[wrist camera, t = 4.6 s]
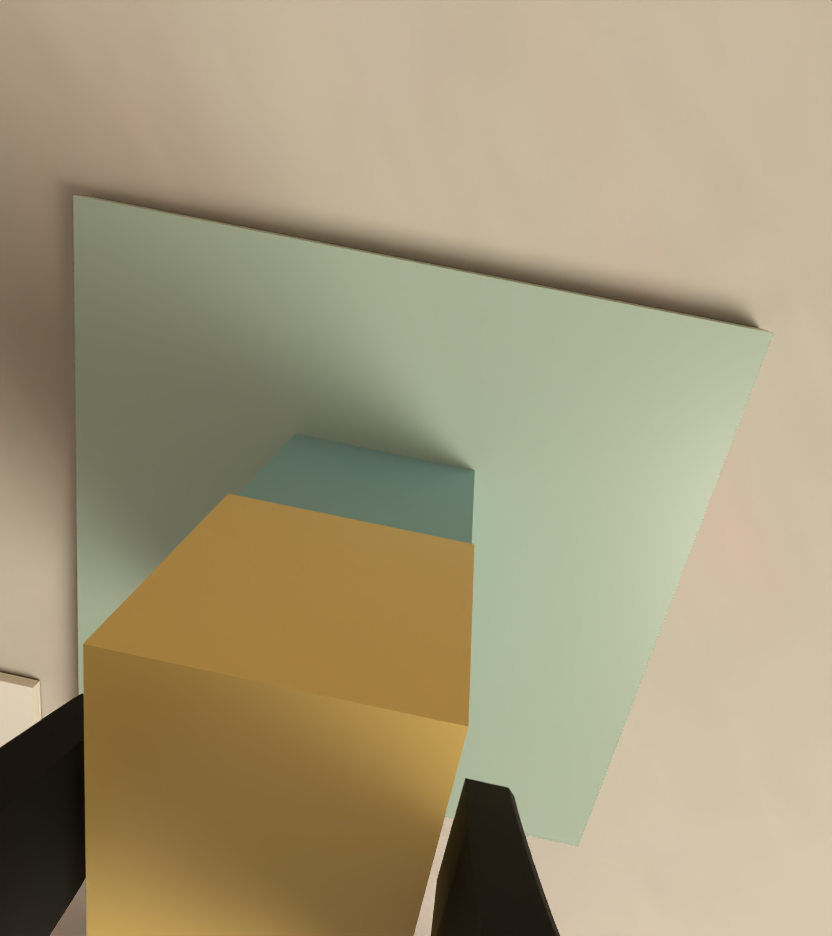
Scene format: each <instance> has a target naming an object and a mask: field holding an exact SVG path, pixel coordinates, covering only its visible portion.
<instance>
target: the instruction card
mask: <svg viewBox="0 0 832 936" xmlns="http://www.w3.org/2000/svg"><path fill="white" fill-rule="evenodd" d="M40 720H41V702H40V681H38V680H33V679H29V678H24V677H20V676H15V675H11V674H6V673H2V672H0V747H1V746H3V745H4V744H6V743H7V742H9V741H10V740H12V739H13V738H15V737H16V736H18V735H19V734H21V733H22V732H24V731H25V730H27V729H28V728H30V727H31V726H33V725H34V724H36V723H37V722H39V721H40Z"/></svg>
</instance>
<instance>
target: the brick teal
mask: <svg viewBox="0 0 832 936" xmlns="http://www.w3.org/2000/svg"><path fill="white" fill-rule="evenodd" d="M474 477H475V471H474V470H469V469H465V468H460V467H455V466H450V465H445V464H440V463H435V462H431V461H426V460H421V459H416V458H411V457H406V456H402V455H397V454H392V453H387V452H382V451H377V450H372V449H368V448H363V447H358V446H353V445H348V444H343V443H339V442H334V441H329V440H324V439H319V438H314V437H309V436H305V435H300V434H294V436H293V437H292V438H291V439H290V440H289V441H288V442H287V443H286V444H285V445H284V446H283V447H282V449H281V450H280V451H279V452H278V453H277V454H276V455H275V456H274V457H273V458H272V459H271V460H270V462H269V463H268V464H267V465H266V466H265V467H264V468H263V469H262V470H261V471H260V472H259V473H258V475H257V476H256V477H255V478H254V479H253V480H252V481H251V482H250V483H249V484H248V485H247V486H246V487H245V489H244V490H243V491H242V492H241V493H240V494H239V495H238V496H243V497H247V498H252V499H257V500H262V501H267V502H272V503H277V504H281V505H286V506H291V507H296V508H301V509H306V510H311V511H315V512H320V513H325V514H330V515H335V516H340V517H344V518H349V519H354V520H359V521H364V522H369V523H374V524H378V525H383V526H388V527H393V528H398V529H403V530H408V531H412V532H417V533H422V534H427V535H432V536H437V537H442V538H446V539H451V540H456V541H461V542H466V543H471V544H472V525H473V501H474Z"/></svg>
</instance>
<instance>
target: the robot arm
mask: <svg viewBox="0 0 832 936" xmlns="http://www.w3.org/2000/svg"><path fill="white" fill-rule="evenodd" d="M85 878H86V851H85V770H84V694H80V695H78V696H77V697H75V698H73V699H72V700H70V701H69V702H67V703H66V704H64V705H63V706H61V707H60V708H58V709H56V710H55V711H53V712H52V713H50V714H49V715H47V716H46V717H45V718H43V719H42V720H40V721H39V722H37V723H36V724H34V725H33V726H31V727H30V728H28V729H27V730H25V731H24V732H22V733H21V734H19V735H18V736H16V737H15V738H13V739H12V740H10V741H9V742H7V743H6V744H4V745H3V746H1V747H0V936H49V935H50V934H51V932H52V931H53V929H54V928H55V926H56V924H57V923H58V921H59V920H60V918H61V917H62V915H63V914H64V912H65V910H66V909H67V907H68V906H69V904H70V903H71V901H72V899H73V898H74V896H75V895H76V893H77V892H78V890H79V888H80V887H81V885H82V883H83V881H84V880H85ZM431 936H560V934H559V932H558V929H557V927H556V924H555V922H554V919H553V916H552V914H551V911H550V908H549V905H548V902H547V900H546V897H545V894H544V891H543V888H542V885H541V882H540V879H539V877H538V874H537V871H536V868H535V865H534V862H533V859H532V856H531V852H530V849H529V846H528V843H527V840H526V836H525V833H524V830H523V826H522V823H521V819H520V816H519V812H518V809H517V805H516V801H515V797H514V795H513V793H512V792H511V790H510V789H509V788H508V787H504V786H499V785H495V784H490V783H486V782H481V781H477V780H472V779H468V778H465V781H464V784H463V788H462V792H461V795H460V799H459V802H458V806H457V810H456V813H455V817H454V821H453V824H452V828H451V831H450V835H449V839H448V842H447V846H446V849H445V853H444V857H443V860H442V864H441V867H440V871H439V875H438V878H437V885H436V894H435V903H434V912H433V921H432V931H431Z"/></svg>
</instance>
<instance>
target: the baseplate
mask: <svg viewBox="0 0 832 936" xmlns="http://www.w3.org/2000/svg"><path fill="white" fill-rule="evenodd" d="M73 235H74V326H75V417H76V508H77V599H78V690H79V695H80V694H84V689H83V643H84V642H85V641H86V640H87V639H88V638H89V637H90V636H91V635H92V634H93V633H94V632H95V631H96V630H97V629H98V628H99V627H100V626H101V625H102V624H103V623H104V622H105V621H106V620H107V619H108V617H109V616H110V615H111V614H112V613H113V612H114V611H115V610H116V609H117V608H118V607H119V606H120V605H121V604H122V603H123V602H124V601H125V600H126V599H127V598H128V597H129V596H130V595H131V594H132V593H133V592H134V591H135V590H136V589H137V588H138V586H139V585H140V584H141V583H142V582H143V581H144V580H145V579H146V578H147V577H148V576H149V575H150V574H151V573H152V572H153V571H154V570H155V569H156V568H157V567H158V566H159V565H160V564H161V563H162V562H163V561H164V560H165V559H166V558H167V557H168V555H169V554H170V553H171V552H172V551H173V550H174V549H175V548H176V547H177V546H178V545H179V544H180V543H181V542H182V541H183V540H184V539H185V538H186V537H187V536H188V535H189V534H190V533H191V532H192V531H193V530H194V529H195V528H196V527H197V525H198V524H199V523H200V522H201V521H202V520H203V519H204V518H205V517H206V516H207V515H208V514H209V513H210V512H211V511H212V510H213V509H214V508H215V507H216V506H217V505H218V504H219V503H220V502H221V501H222V500H223V499H224V498H225V497H226V496H227V494H233V495H239V494H240V493H241V492H242V491H243V490H244V489H245V487H246V486H247V485H248V484H249V483H250V482H251V481H252V480H253V479H254V478H255V477H256V476H257V475H258V473H259V472H260V471H261V470H262V469H263V468H264V467H265V466H266V465H267V464H268V463H269V462H270V460H271V459H272V458H273V457H274V456H275V455H276V454H277V453H278V452H279V451H280V450H281V449H282V447H283V446H284V445H285V444H286V443H287V442H288V441H289V440H290V439H291V438H292V437H293V436H294V434H300V435H305V436H309V437H314V438H319V439H324V440H329V441H334V442H339V443H343V444H348V445H353V446H358V447H363V448H368V449H372V450H377V451H382V452H387V453H392V454H397V455H402V456H406V457H411V458H416V459H421V460H426V461H431V462H435V463H440V464H445V465H450V466H455V467H460V468H465V469H469V470H474V471H475V477H474V501H473V525H472V544H474V574H473V604H472V635H471V665H470V696H469V727H468V731H467V734H466V738H465V742H464V746H463V749H462V753H461V757H460V761H459V765H458V768H457V772H456V776H455V780H454V784H453V787H452V791H451V795H450V799H449V803H448V806H447V810H446V814H445V817H448V818H452V819H454V817H455V813H456V810H457V806H458V802H459V799H460V795H461V792H462V788H463V784H464V781H465V778H468V779H472V780H477V781H481V782H486V783H490V784H495V785H499V786H504V787H508V788H509V789H510V790H511V792H512V793H513V795H514V797H515V801H516V805H517V809H518V812H519V816H520V819H521V823H522V826H523V830H524V833H525V835H529V836H533V837H538V838H542V839H547V840H551V841H556V842H560V843H565V844H569V845H574V846H579V843H580V840H581V838H582V835H583V832H584V830H585V827H586V825H587V822H588V819H589V817H590V814H591V811H592V809H593V806H594V804H595V801H596V798H597V796H598V793H599V790H600V788H601V785H602V783H603V780H604V777H605V775H606V772H607V769H608V767H609V764H610V762H611V759H612V756H613V754H614V751H615V748H616V746H617V743H618V741H619V738H620V735H621V733H622V730H623V727H624V725H625V722H626V719H627V717H628V714H629V712H630V709H631V706H632V704H633V701H634V698H635V696H636V693H637V691H638V688H639V685H640V683H641V680H642V677H643V675H644V672H645V670H646V667H647V664H648V662H649V659H650V656H651V654H652V651H653V649H654V646H655V643H656V641H657V638H658V635H659V633H660V630H661V628H662V625H663V622H664V620H665V617H666V614H667V612H668V609H669V607H670V604H671V601H672V599H673V596H674V593H675V591H676V588H677V586H678V583H679V580H680V578H681V575H682V572H683V570H684V567H685V565H686V562H687V559H688V557H689V554H690V551H691V549H692V546H693V544H694V541H695V538H696V536H697V533H698V530H699V528H700V525H701V523H702V520H703V517H704V515H705V512H706V509H707V507H708V504H709V502H710V499H711V496H712V494H713V491H714V488H715V486H716V483H717V481H718V478H719V475H720V473H721V470H722V467H723V465H724V462H725V460H726V457H727V454H728V452H729V449H730V446H731V444H732V441H733V438H734V436H735V433H736V431H737V428H738V425H739V423H740V420H741V417H742V415H743V412H744V410H745V407H746V404H747V402H748V399H749V396H750V394H751V391H752V389H753V386H754V383H755V381H756V378H757V375H758V373H759V370H760V368H761V365H762V362H763V360H764V357H765V354H766V352H767V349H768V347H769V344H770V341H771V339H772V336H773V333H772V332H769V331H766V330H764V329H760V328H755V327H750V326H745V325H740V324H735V323H730V322H725V321H720V320H715V319H710V318H705V317H700V316H694V315H689V314H684V313H679V312H674V311H669V310H664V309H659V308H654V307H649V306H644V305H639V304H634V303H629V302H623V301H618V300H613V299H608V298H603V297H598V296H593V295H588V294H583V293H578V292H573V291H568V290H563V289H558V288H552V287H547V286H542V285H537V284H532V283H527V282H522V281H517V280H512V279H507V278H502V277H497V276H492V275H487V274H482V273H476V272H471V271H466V270H461V269H456V268H451V267H446V266H441V265H436V264H431V263H426V262H421V261H416V260H411V259H405V258H400V257H395V256H390V255H385V254H380V253H375V252H370V251H365V250H360V249H355V248H350V247H345V246H340V245H334V244H329V243H324V242H319V241H314V240H309V239H304V238H299V237H294V236H289V235H284V234H279V233H274V232H269V231H263V230H258V229H253V228H248V227H243V226H238V225H233V224H228V223H223V222H218V221H213V220H208V219H203V218H198V217H192V216H187V215H182V214H177V213H172V212H167V211H162V210H157V209H152V208H147V207H142V206H137V205H132V204H127V203H121V202H116V201H111V200H106V199H101V198H96V197H91V196H80V195H73Z"/></svg>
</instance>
